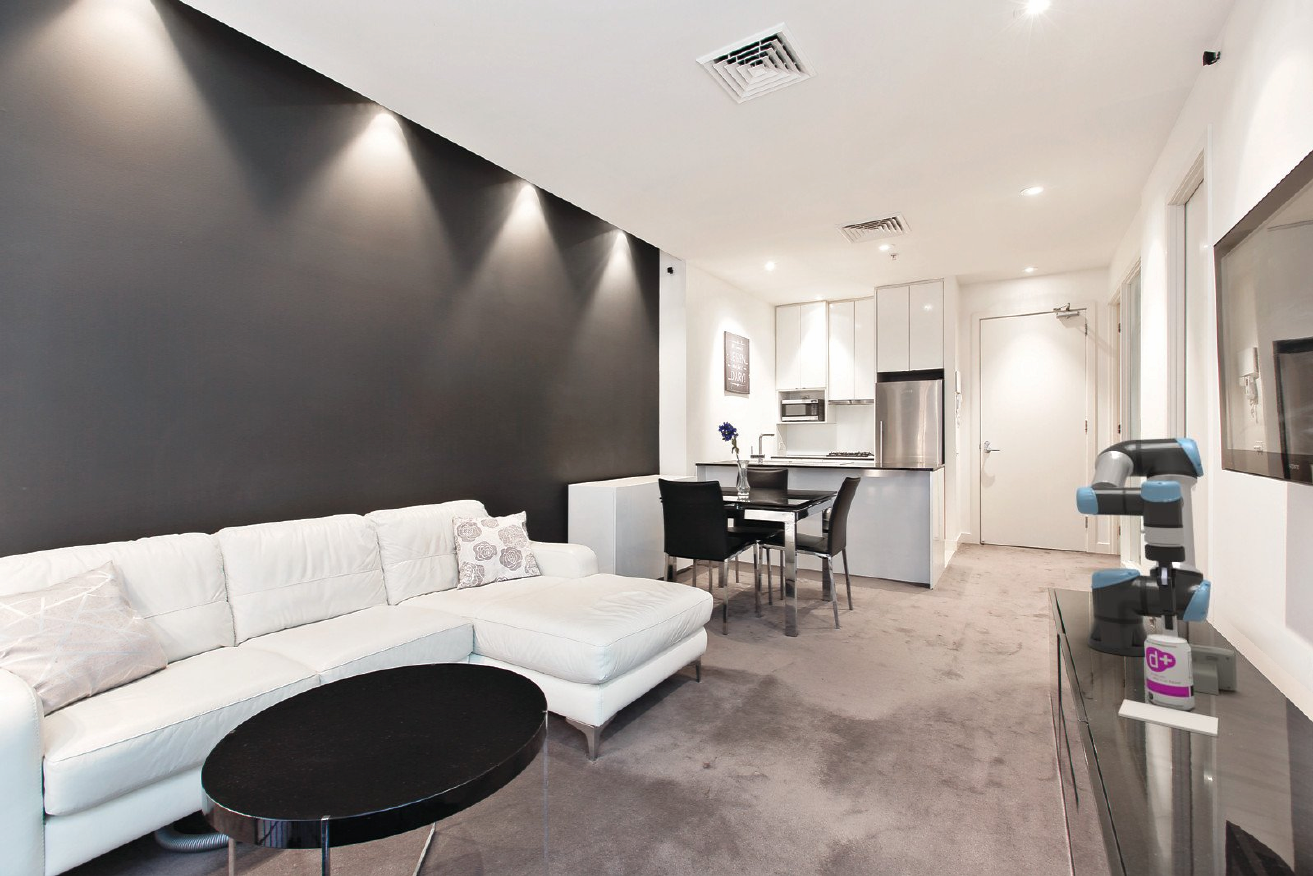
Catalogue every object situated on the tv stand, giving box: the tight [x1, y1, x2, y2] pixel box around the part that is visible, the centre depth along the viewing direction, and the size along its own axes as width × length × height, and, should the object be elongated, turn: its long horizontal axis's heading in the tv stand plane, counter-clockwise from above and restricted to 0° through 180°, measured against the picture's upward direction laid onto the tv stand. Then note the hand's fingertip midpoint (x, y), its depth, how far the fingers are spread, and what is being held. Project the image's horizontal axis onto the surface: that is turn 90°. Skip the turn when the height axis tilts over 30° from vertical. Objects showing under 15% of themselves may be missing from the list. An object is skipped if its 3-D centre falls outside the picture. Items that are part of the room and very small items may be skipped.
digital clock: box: [1188, 643, 1238, 696], centre depth 147 cm, size 16×9×11 cm, turn 39°
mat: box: [1117, 698, 1219, 738], centre depth 130 cm, size 10×16×1 cm, turn 46°
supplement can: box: [1144, 633, 1196, 711], centre depth 138 cm, size 8×8×15 cm
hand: (1170, 642), depth 144 cm, fingers closed
